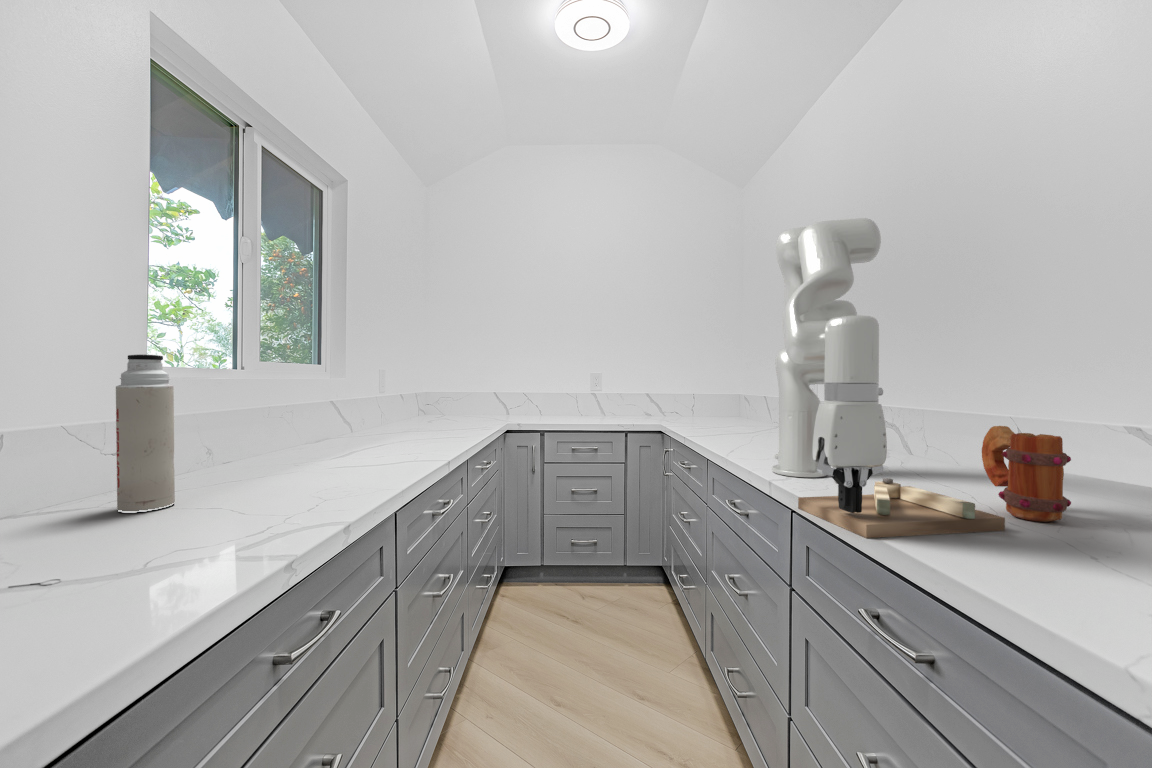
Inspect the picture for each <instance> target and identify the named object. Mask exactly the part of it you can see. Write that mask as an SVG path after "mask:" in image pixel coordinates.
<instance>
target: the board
mask: <svg viewBox="0 0 1152 768" xmlns="http://www.w3.org/2000/svg"><path fill="white" fill-rule="evenodd" d="M797 503H798V507H797V508H798V509H799V510H801V511H802V512H805V513H807V514H810V515H812V516H814V517H817V518H820V519H822V520H823V521H826V522H828V523H831V524H833V525H835V526H838V527H840V528H841V529H842V528H843V529H844V530H846V531H848V532H851V533H853V534H856V535H858V536H860V537H863V538H865V539H875V538H893V537H894V538H895V537H913V536H914V537H915V536H929V535H947V534H948V535H949V534H963V533H965V534H966V533H983V532H985V533H987V532H1002V531H1005V530H1006V518H1005V517H1003V516H1001V515H997V514H993V513H989V512H986V511H982V510H979V509H975V519H967V518H962V517H959V516H956V515H952V514H949V513H946V512H942V511H939V510H936V509H933V508H929V507H926V506H923V505H919V504H916V503H913V502H909V501H906V500H903V499H901V497H900V498H890V515H881V514H878V513H877V511H876V505H875V499H874V493H873V494H862V512H861V513H857V512H855V513H850V512H847V511H845V510H842V509H840V508H839V503H838V495H826V496H825V495H824V496H823V495H822V496H803V497H800V496H799V497H798V500H797Z"/></svg>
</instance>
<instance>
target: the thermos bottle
mask: <svg viewBox="0 0 1152 768" xmlns="http://www.w3.org/2000/svg"><path fill="white" fill-rule="evenodd" d="M127 360H128V361H127V363H126V365H127V366H126V370H124V372H121V373H120V377H119V380H120V384H119V385H116V386H115V425H116V426H115V430H116V434H115V435H116V439H115V440H116V441H115V442H116V446H115V447H116V501H117V502H116V503H117V504H116V508H117V509H118V510H122V511H139V510H148V509H155V508H159V507H164V506H167V505H170V504H172V503H174V502H175V503H176V495H175V494H176V491H175V488H176V487H175V486H176V485H175V482H176V481H175V479H176V478H175V462H174V461H175V460H174V458H175V457H174V456H175V412H174V411H175V407H174V406H175V403H174V401H175V399H174V393H175V391H174V385H172V384H170V383H169V381H170V380H171V379H170V376H169V373H168V372H166V371H164V370H163V363H162V361H163V360H164V356H163V355H158V354H128V355H127ZM117 509H116V510H117Z"/></svg>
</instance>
